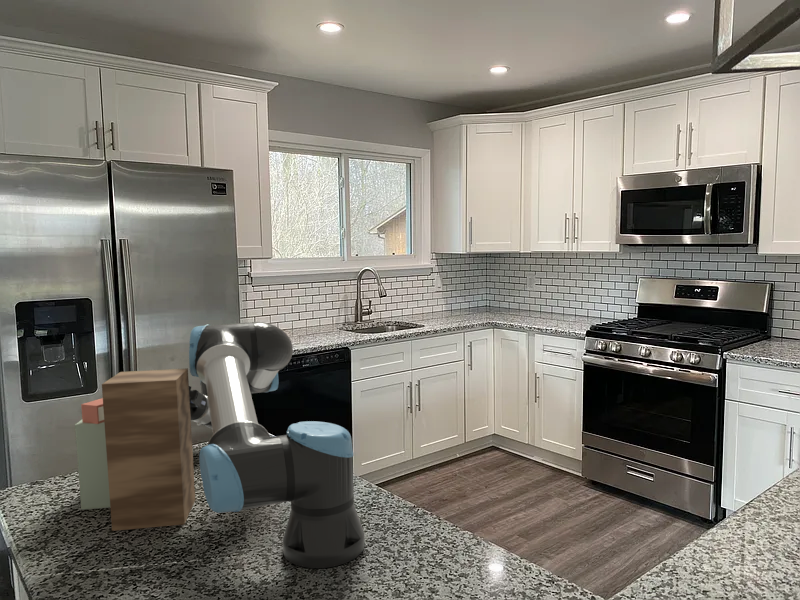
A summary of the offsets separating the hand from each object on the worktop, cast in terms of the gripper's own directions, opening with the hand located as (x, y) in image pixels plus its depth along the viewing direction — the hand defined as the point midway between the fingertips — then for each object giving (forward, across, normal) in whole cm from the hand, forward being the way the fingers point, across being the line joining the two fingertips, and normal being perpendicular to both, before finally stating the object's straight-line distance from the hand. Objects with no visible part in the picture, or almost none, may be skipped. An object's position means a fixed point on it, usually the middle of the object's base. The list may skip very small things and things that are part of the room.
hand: (142, 383), depth 144 cm
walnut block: (0, -16, -28) cm, 32 cm away
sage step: (-5, 0, -25) cm, 26 cm away
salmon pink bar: (+1, 0, -7) cm, 7 cm away
